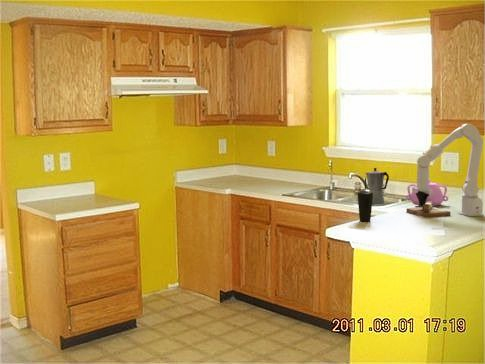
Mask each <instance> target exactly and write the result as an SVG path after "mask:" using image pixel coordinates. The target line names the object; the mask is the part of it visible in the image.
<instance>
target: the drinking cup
mask: <svg viewBox="0 0 485 364" xmlns="http://www.w3.org/2000/svg"><path fill="white" fill-rule="evenodd" d="M373 193H374V192H372V191H371V190H369V188H368V189H367V177H365V178H364V189H360V190H358V191H357V192H356V194H357V201H358V202H357V203H358V204H357V205H358V216H359V217H358V219H359V222H361V223H369V222H371V219H372V209H373V208H372V207H373V205H372V200H373Z"/></svg>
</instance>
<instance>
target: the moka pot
mask: <svg viewBox="0 0 485 364" xmlns="http://www.w3.org/2000/svg"><path fill="white" fill-rule="evenodd" d="M365 175H366V182H367V186H368V190H371V191H372V192H374V193H373V200H372V206H375V205H384V204H385V197H384V191H383V190H386V189H387V187H388V182H389V179H390V176H389V174H388V172H387V171H380V170H377V167H373V171H368V172H366V173H365ZM384 177H386V179H385V178H384ZM384 180H385V183H384Z"/></svg>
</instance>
